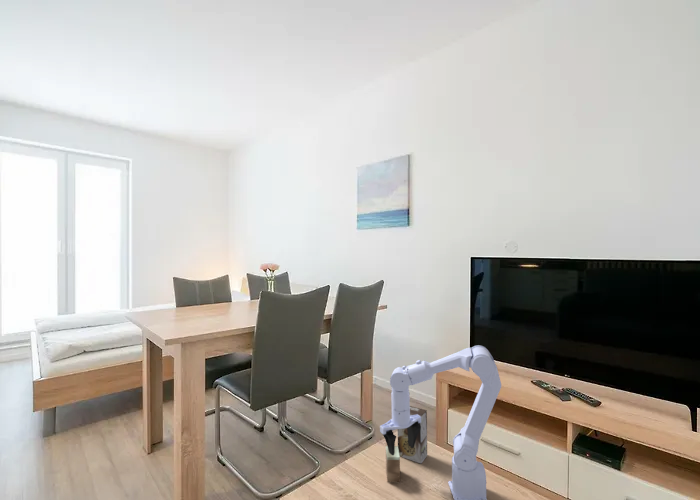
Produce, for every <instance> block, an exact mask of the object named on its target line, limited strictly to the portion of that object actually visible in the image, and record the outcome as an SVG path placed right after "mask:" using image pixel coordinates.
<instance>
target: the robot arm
mask: <svg viewBox="0 0 700 500" xmlns="http://www.w3.org/2000/svg"><path fill="white" fill-rule="evenodd" d="M457 368H459V369H463V370H465V371H466V372H470V371H471V370H472V372H473V373H474V374H475V375H476V376H477V377H478V378H479V379H480V380H481V385H480V388H479V390H478V392H477V394H476V397H475V399H474V402H473V404H472V407H471V409H470V411H469V414H468V416H467V418H466V422H465V424H464V426H463V427H462V428H461V427H460V431H459V432H458V433H457V434H455V436H453V439H452V444H453V456H452V457H451V480H449V481H448V482H447V484H448V487H449V489H450V492H451V494H452V498H453V500H488V499H487V475H486V469H485V466H484V464H483V463H482V462H481V461H478V460H477V454H478V452H479V451H478V450H479V444H480V439H481V437H482V433H483V432H484V429H485V426H486V425H487V422H488V420H489V418H490V415H491V412H492V410H493V407H494V406H495V403H496V400H497V398H498V396H499V393H500V391H501V389H502V382H501V377H500V374H499V371H498V367H497V365H496V362H495V360H494V357H493V356H492V354H491V352H490V351H489V350H488V349H487V348H486V346H483V345H479V344H478V345H474V346H472V347H467V348H466V347H465V348H463V349H461V350H459V351H457V352H454V353H452V354H449V355H447V356H444V357H442V358H439V359H436V360H434V361H431V362H430V361H427V360H422V361H421V359H418V360H416V361H415V363H413V364H410V365H409V364H408V365H407V366H406V365H402V367H401V366H398V367H396V368H394V370H392V373H391V376H390V379H389V384H390V387H391V393H390V394H391V396H390V397H391V401H390V402H391V418H390V419H389V420H388V421H387V422H385V423H383V424H381V425H379V432H380V433H381V434H382V435H383V438H384V440H385V443H386V446H388V450H389V453H390V454H391V455H394V453H395V446H396V439H397V435H396V434H394V431H396V430H398V429H404V428H407V432H408V444H409V446H410V447H411V448H414V445H415V441H416V438H417V435H418V433H419V431H420V430H421V426H420V425H419V424H418V423H421V416H419V415H418V414H416V415H410V406H411V403H410V402H411V401H410V400H411V399H410V396H411V394H410V388H409V387H410V386H414V385H417V384H420V383H424V382H427V381H429V380H432V378H433V376H434V374H438V373H441V372H445V371H450V370H453V369H457ZM470 369H471V370H470Z"/></svg>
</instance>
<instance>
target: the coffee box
mask: <svg viewBox="0 0 700 500" xmlns="http://www.w3.org/2000/svg"><path fill="white" fill-rule="evenodd" d="M416 414H418V415H419V416H421V423H418V424H419V425H420V426H421V430H420V431H419V433H418V435H417V438H416V441H415V445H414V448H411V447H410V446H409V444H408V432H407V428H404V429H397V446H398V450H399V456H400V458H401V457H402V458H404V459H407V460H410V461H413V462H415V463H418V464H422V463H423V462H424V461H425V459H426V458H427V457H428V418H427V417H428V416H427V415H428V410H427V409H423V408H421V407H416V406H412V405H410V415H416Z"/></svg>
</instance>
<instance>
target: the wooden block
mask: <svg viewBox="0 0 700 500" xmlns="http://www.w3.org/2000/svg"><path fill="white" fill-rule="evenodd" d="M400 458H401V456H399V450H398V445H395V453H394V455H391V454H390V453H389V450H388V446H387V445H385V473H386V474H385V475H386V482H387V483H401V459H400Z"/></svg>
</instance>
